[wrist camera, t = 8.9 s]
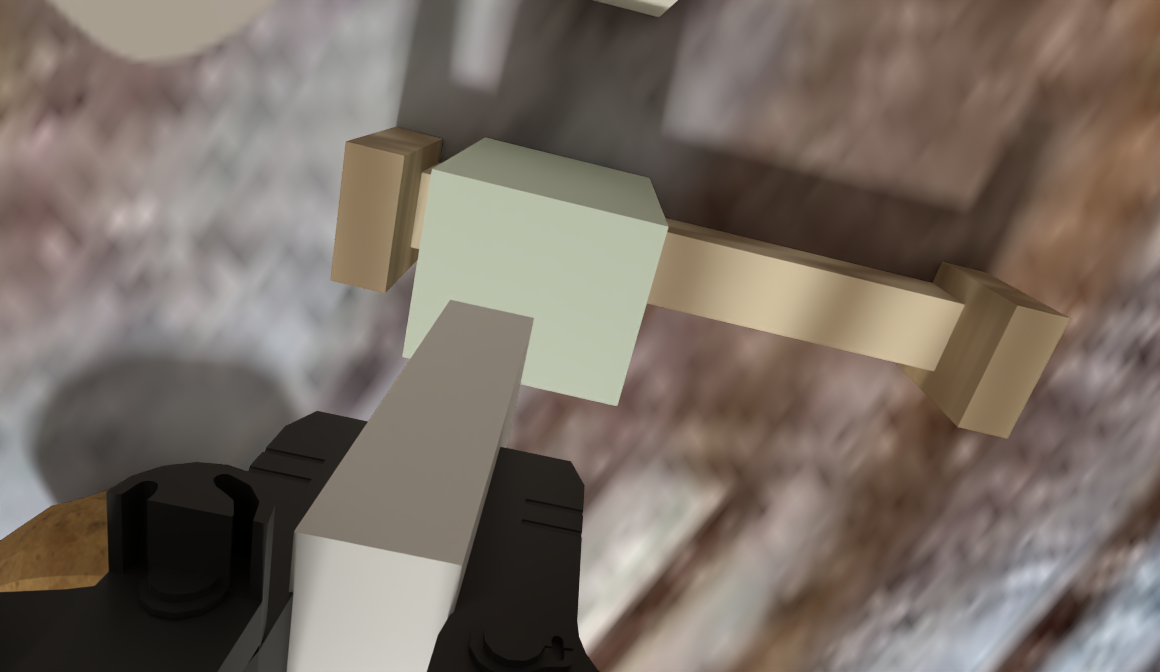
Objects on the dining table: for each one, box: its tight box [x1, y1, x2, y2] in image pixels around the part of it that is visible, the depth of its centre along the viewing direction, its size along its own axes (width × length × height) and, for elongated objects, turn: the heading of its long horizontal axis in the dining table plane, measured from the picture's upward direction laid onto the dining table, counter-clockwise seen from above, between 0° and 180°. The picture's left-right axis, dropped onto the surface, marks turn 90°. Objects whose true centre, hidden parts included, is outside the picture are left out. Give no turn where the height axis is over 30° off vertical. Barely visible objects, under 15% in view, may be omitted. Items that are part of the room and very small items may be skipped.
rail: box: [331, 127, 1070, 438], centre depth 28 cm, size 26×5×6 cm, turn 77°
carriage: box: [402, 137, 669, 406], centre depth 26 cm, size 7×6×10 cm
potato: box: [0, 490, 109, 592], centre depth 33 cm, size 10×14×8 cm
